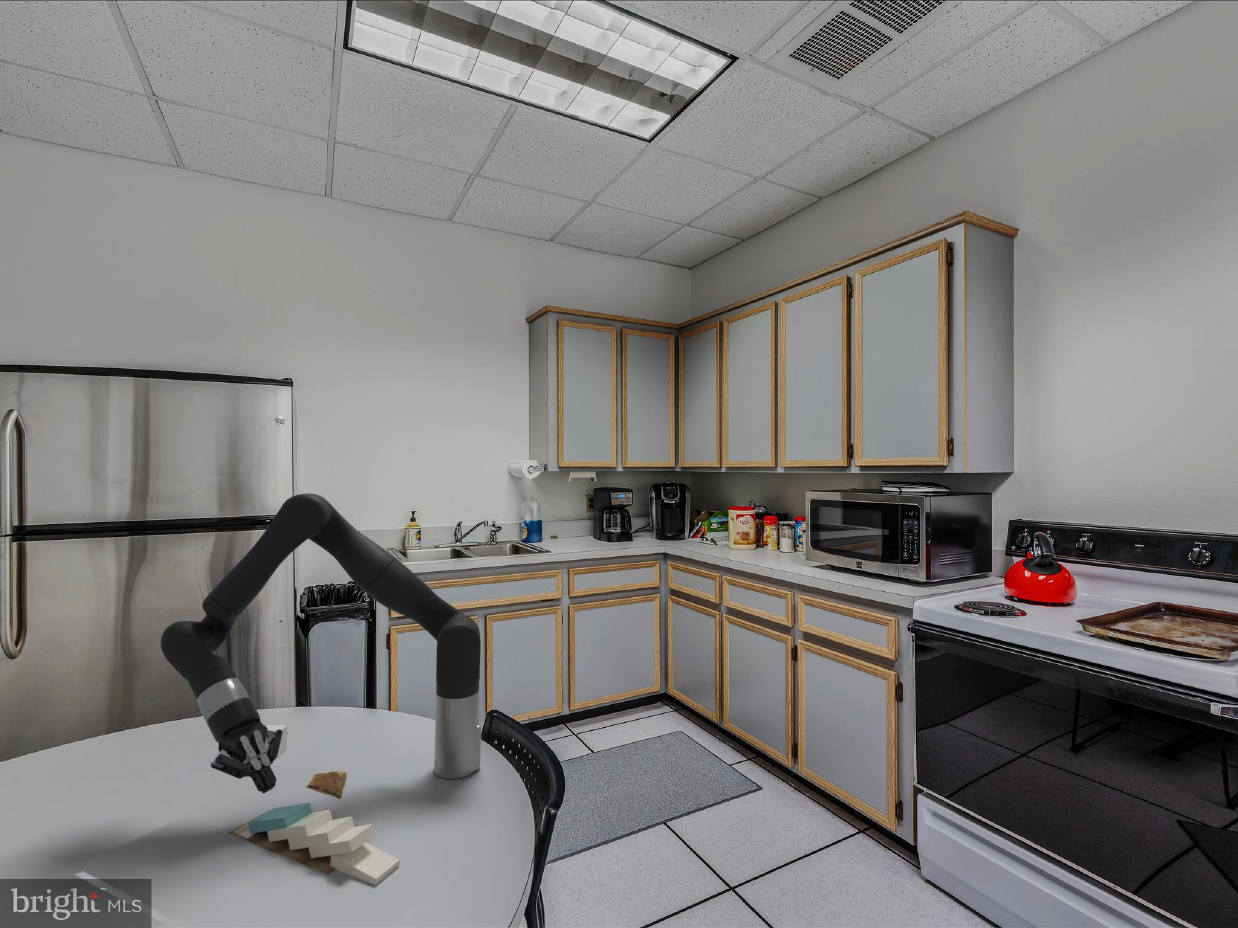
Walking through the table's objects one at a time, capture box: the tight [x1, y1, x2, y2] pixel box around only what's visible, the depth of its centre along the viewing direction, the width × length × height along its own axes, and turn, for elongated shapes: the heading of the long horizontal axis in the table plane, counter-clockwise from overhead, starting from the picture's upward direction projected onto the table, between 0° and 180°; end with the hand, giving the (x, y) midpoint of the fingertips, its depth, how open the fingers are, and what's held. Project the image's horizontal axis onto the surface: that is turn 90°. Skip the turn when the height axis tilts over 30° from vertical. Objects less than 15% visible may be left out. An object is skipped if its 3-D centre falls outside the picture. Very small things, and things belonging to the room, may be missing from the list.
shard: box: [305, 770, 348, 800], centre depth 120 cm, size 11×8×2 cm
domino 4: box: [330, 842, 401, 886], centre depth 97 cm, size 2×5×10 cm
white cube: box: [264, 724, 288, 765], centre depth 133 cm, size 6×6×6 cm
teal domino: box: [248, 802, 313, 833], centre depth 105 cm, size 2×5×10 cm
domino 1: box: [267, 809, 333, 842], centre depth 103 cm, size 2×5×10 cm
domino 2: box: [288, 815, 355, 850], centre depth 101 cm, size 2×5×10 cm
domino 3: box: [309, 823, 377, 858], centre depth 99 cm, size 2×5×10 cm
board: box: [228, 809, 337, 876], centre depth 103 cm, size 25×8×1 cm, turn 66°
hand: (269, 788), depth 106 cm, fingers closed
